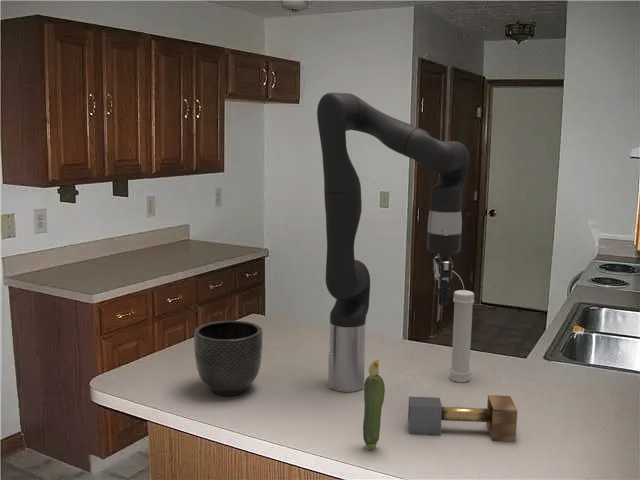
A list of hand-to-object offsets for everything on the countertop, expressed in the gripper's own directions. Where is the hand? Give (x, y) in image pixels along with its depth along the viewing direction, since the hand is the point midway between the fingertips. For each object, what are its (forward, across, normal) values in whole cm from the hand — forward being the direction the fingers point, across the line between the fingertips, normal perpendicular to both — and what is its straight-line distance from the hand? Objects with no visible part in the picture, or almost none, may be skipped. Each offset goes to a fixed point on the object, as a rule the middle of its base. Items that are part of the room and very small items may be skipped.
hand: (441, 300), depth 156 cm
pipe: (+28, -24, +8) cm, 38 cm away
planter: (+28, -10, -52) cm, 60 cm away
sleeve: (+28, +8, -4) cm, 29 cm away
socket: (+28, +8, +14) cm, 32 cm away
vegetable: (+28, +18, -15) cm, 37 cm away
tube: (+26, +8, +5) cm, 28 cm away
